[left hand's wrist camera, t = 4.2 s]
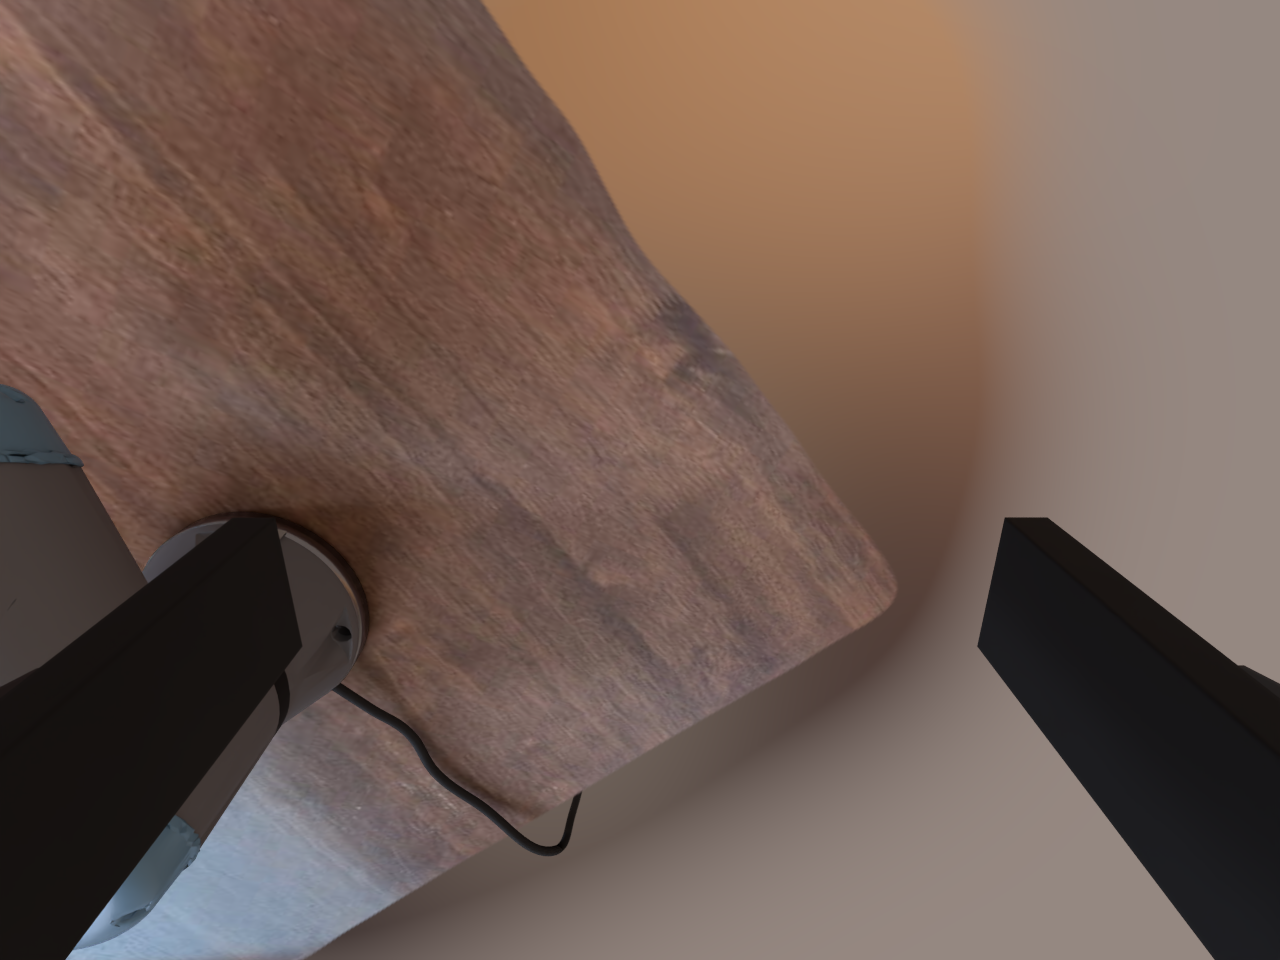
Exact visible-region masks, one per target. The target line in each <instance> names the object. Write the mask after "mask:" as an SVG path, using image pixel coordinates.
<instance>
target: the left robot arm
mask: <svg viewBox="0 0 1280 960" xmlns="http://www.w3.org/2000/svg"><path fill="white" fill-rule="evenodd" d="M83 466H84V464H83V462H82V460H81V459H80V458H78V457H77V456H75V455H73V454H71V453H70V451H69V450H68V448H67V447H66V445H65V444H64V442H63V441H62V439H61V438H60V436H59V435H58V433H57V432H56V431H55V429H54V428H53V426H52V425H51V423H50V422H49V420H48V419H47V417H46V416H45V414H44V413H43V411H42V410H41V408H40V407H39V405H38V404H37V403H36V402H35V401H34V400H33V399H32V398H31V397H29V396H28V395H26V394H25V393H23V392H22V391H20V390H18V389H15V388H13V387H10V386H7V385H3V384H0V960H65V959H66V958H67V957H68V955H69V954H70V953H71V951H72V950H77V949H82V948H86V947H90V946H94V945H97V944H100V943H103V942H105V941H108V940H110V939H113V938H115V937H117V936H119V935H120V934H122V933H124V932H126V931H127V930H129V929H131V928H132V927H133V926H135V925H136V924H138V923H139V922H140V921H141V920H142V919H143V918H144V917H145V916H147V915H148V914H149V913H150V911H151V910H152V909H153V908H154V907H155V905H156V904H157V903H158V901H159V900H160V899H161V898H162V896H163V895H164V894H165V892H166V891H167V890H168V888H169V887H170V886H171V885H172V883H173V882H174V881H175V880H176V878H177V877H178V876H179V875H180V873H181V872H182V871H183V870H184V869H186V868H187V867H188V866H189V865H190V864H191V863H192V862H193V861H194V860H195V859H196V857H197V854H198V852H200V848H201V846H202V845H203V843H204V842H205V840H206V839H207V837H208V836H209V834H210V833H211V831H212V829H213V828H214V826H215V825H216V823H217V822H218V820H219V819H220V817H221V816H222V814H223V813H224V811H225V810H226V808H227V807H228V805H229V804H230V802H231V801H232V799H233V798H234V796H235V795H236V793H237V792H238V790H239V789H240V787H241V786H242V784H243V783H244V781H245V779H246V778H247V776H248V775H249V773H250V772H251V770H252V769H253V767H254V766H255V764H256V763H257V761H258V760H259V758H260V757H261V755H262V754H263V752H264V751H265V749H266V748H267V746H268V745H269V743H270V742H271V740H272V738H273V737H274V735H275V734H276V733H277V731H278V730H279V728H280V727H281V725H282V724H284V723H285V722H287V721H288V720H290V719H291V718H292V717H294V716H295V715H297V714H298V713H300V712H301V711H303V710H304V709H305V708H307V707H308V706H310V705H311V704H313V703H314V702H315V701H317V700H318V699H320V698H321V697H323V696H324V695H326V694H327V693H328V692H330V691H331V690H333V691H334V692H336V693H337V694H339V695H340V696H342V697H344V698H345V699H347V700H348V701H350V702H351V703H353V704H354V705H356V706H357V707H359V708H361V709H362V710H364V711H365V712H367V713H368V714H370V715H372V716H374V717H375V718H377V719H379V720H381V721H383V722H385V723H387V724H388V725H390V726H392V727H394V728H395V729H397V730H398V731H399V732H400V733H402V734H403V735H404V736H405V737H406V738H407V739H408V740H409V741H410V743H411V744H412V746H413V747H414V749H415V750H416V752H417V754H418V756H419V758H420V760H421V761H422V763H423V765H424V766H425V768H426V769H427V771H428V772H429V773H430V774H431V775H432V776H433V778H434V779H436V780H437V781H438V782H439V783H440V784H441V785H442V786H443V787H445V788H446V789H447V790H449V791H450V792H452V793H453V794H455V795H456V796H458V797H459V798H461V799H462V800H464V801H466V802H467V803H469V804H470V805H472V806H473V807H475V808H476V809H478V810H479V811H480V812H482V813H483V814H484V815H486V816H487V817H488V818H489V819H490V820H492V821H493V822H494V823H495V824H496V825H497V826H498V827H499V828H501V829H502V830H503V831H504V832H505V833H506V834H507V835H508V836H509V837H511V838H512V839H513V840H514V841H515V842H517V843H518V844H519V845H520V846H522V847H523V848H525V849H527V850H528V851H530V852H532V853H535V854H538V855H542V856H554V855H557V854H559V853H561V852H562V851H563V850H564V849H565V848H566V847H567V845H568V843H569V840H570V837H571V833H572V829H573V824H574V820H575V816H576V813H577V809H578V806H579V802H580V798H581V794H582V791H581V792H579V793H577V794H576V795H574V797H573V800H572V803H571V807H570V810H569V813H568V817H567V821H566V825H565V829H564V833H563V836H562V839H561V841H560V842H559V843H558V844H557V845H555V846H552V847H545V846H540V845H538V844H535V843H534V842H532V841H530V840H529V839H527V838H526V837H524V836H523V835H522V834H521V833H519V832H518V831H517V830H516V829H515V828H514V827H513V826H511V825H510V824H509V823H508V822H507V821H506V820H505V819H504V818H503V817H502V816H500V815H499V814H498V813H497V812H496V811H495V810H493V809H492V808H491V807H490V806H489V805H487V804H486V803H484V802H483V801H482V800H480V799H479V798H477V797H476V796H474V795H473V794H471V793H469V792H468V791H466V790H465V789H463V788H462V787H460V786H459V785H457V784H456V783H454V782H453V781H452V780H450V779H449V778H448V777H447V776H446V775H445V774H444V773H443V772H441V770H440V769H439V768H438V767H437V766H436V765H435V763H434V762H433V760H432V759H431V757H430V755H429V753H428V751H427V750H426V748H425V746H424V744H423V742H422V741H421V739H420V738H419V736H418V735H417V734H416V733H415V732H414V731H413V730H412V729H411V728H410V727H409V726H408V725H407V724H405V723H404V722H403V721H401V720H400V719H398V718H396V717H395V716H393V715H391V714H389V713H387V712H385V711H384V710H382V709H380V708H378V707H377V706H375V705H373V704H372V703H370V702H369V701H367V700H366V699H364V698H363V697H361V696H359V695H358V694H356V693H355V692H353V691H352V690H350V689H349V688H347V687H346V686H344V685H343V684H341V682H342V680H343V679H344V678H345V677H346V676H347V674H348V673H349V671H350V670H351V668H352V667H353V665H354V663H355V662H356V660H357V659H358V657H359V655H360V653H361V651H362V650H363V647H364V645H365V642H366V639H367V635H368V628H369V612H368V605H367V601H366V597H365V594H364V591H363V589H362V586H361V584H360V582H359V580H358V578H357V577H356V575H355V573H354V572H353V570H352V569H351V567H350V566H349V565H348V563H347V562H346V561H345V560H344V559H343V557H342V556H341V555H340V554H339V553H338V552H337V551H336V550H335V549H334V548H333V547H331V546H330V545H329V544H328V543H327V542H325V541H324V540H323V539H321V538H320V537H318V536H317V535H316V534H314V533H312V532H311V531H309V530H307V529H305V528H303V527H301V526H299V525H297V524H295V523H293V522H290V521H287V520H285V519H282V518H278V517H275V516H271V515H266V514H261V513H253V512H228V513H222V514H216V515H212V516H208V517H206V518H203V519H200V520H198V521H196V522H194V523H192V524H190V525H189V526H187V527H186V528H184V529H182V530H181V531H180V532H178V533H177V534H176V535H174V536H173V537H171V538H170V539H169V540H167V541H166V542H165V543H164V544H162V545H161V546H160V547H159V548H158V549H157V550H156V551H155V552H154V554H153V555H152V556H151V558H150V559H149V561H148V563H147V565H146V566H145V568H144V570H143V572H141V570H140V568H139V567H138V565H137V563H136V561H135V560H134V558H133V556H132V555H131V553H130V551H129V549H128V548H127V546H126V544H125V542H124V541H123V539H122V537H121V536H120V534H119V532H118V530H117V529H116V527H115V525H114V523H113V522H112V520H111V518H110V517H109V515H108V513H107V511H106V510H105V508H104V506H103V504H102V503H101V501H100V499H99V498H98V496H97V494H96V492H95V491H94V489H93V487H92V485H91V484H90V482H89V480H88V479H87V477H86V475H85V473H84V472H83V470H82V468H81V467H83ZM978 648H979V649H980V650H981V652H982V653H983V654H984V656H985V657H986V658H987V660H988V661H989V662H990V664H991V665H992V666H993V668H994V669H995V670H996V672H997V673H998V674H999V676H1000V677H1001V678H1002V680H1003V681H1004V682H1005V683H1006V685H1007V686H1008V687H1009V689H1010V690H1011V691H1012V693H1013V694H1014V695H1015V697H1016V698H1017V699H1018V701H1019V702H1020V703H1021V705H1022V706H1023V707H1024V708H1025V710H1026V711H1027V713H1028V714H1029V715H1030V716H1031V718H1032V719H1033V720H1034V722H1035V723H1036V724H1037V726H1038V727H1039V728H1040V730H1041V731H1042V732H1043V734H1044V735H1045V736H1046V738H1047V739H1048V740H1049V742H1050V743H1051V744H1052V745H1053V747H1054V748H1055V749H1056V751H1057V752H1058V753H1059V755H1060V756H1061V757H1062V759H1063V760H1064V761H1065V763H1066V764H1067V765H1068V767H1069V768H1070V769H1071V771H1072V772H1073V773H1074V775H1075V776H1076V777H1077V779H1078V780H1079V781H1080V782H1081V784H1082V785H1083V786H1084V788H1085V789H1086V790H1087V792H1088V793H1089V794H1090V796H1091V797H1092V798H1093V800H1094V801H1095V802H1096V804H1097V805H1098V806H1099V808H1100V809H1101V810H1102V812H1103V813H1104V814H1105V816H1106V817H1107V818H1108V819H1109V821H1110V822H1111V823H1112V825H1113V826H1114V827H1115V829H1116V830H1117V831H1118V833H1119V834H1120V835H1121V837H1122V838H1123V839H1124V841H1125V842H1126V843H1127V845H1128V846H1129V847H1130V849H1131V850H1132V851H1133V852H1134V854H1135V855H1136V856H1137V858H1138V859H1139V860H1140V862H1141V863H1142V864H1143V866H1144V867H1145V868H1146V870H1147V871H1148V872H1149V874H1150V875H1151V876H1152V878H1153V879H1154V880H1155V881H1156V883H1157V884H1158V885H1159V887H1160V888H1161V889H1162V891H1163V892H1164V893H1165V895H1166V896H1167V897H1168V899H1169V900H1170V901H1171V903H1172V904H1173V905H1174V907H1175V908H1176V909H1177V911H1178V912H1179V913H1180V914H1181V916H1182V917H1183V918H1184V920H1185V921H1186V922H1187V924H1188V925H1189V926H1190V928H1191V929H1192V930H1193V932H1194V933H1195V934H1196V936H1197V937H1198V938H1199V940H1200V941H1201V942H1202V943H1203V945H1204V946H1205V948H1206V949H1207V950H1208V952H1209V953H1210V954H1211V955H1212V957H1213V958H1214V959H1215V960H1280V684H1279V683H1277V682H1275V681H1273V680H1271V679H1269V678H1267V677H1265V676H1263V675H1262V674H1259V673H1258V672H1256V671H1254V670H1252V669H1250V668H1248V667H1246V666H1238V665H1236V664H1235V663H1234V662H1232V661H1231V660H1230V659H1229V658H1227V657H1226V656H1225V655H1224V654H1222V653H1221V652H1220V651H1218V650H1217V649H1216V648H1215V647H1213V646H1212V645H1211V644H1209V643H1208V642H1207V641H1206V640H1204V639H1203V638H1202V637H1200V636H1199V635H1198V634H1197V633H1195V632H1194V631H1193V630H1191V629H1190V628H1189V627H1188V626H1186V625H1185V624H1184V623H1182V622H1181V621H1180V620H1179V619H1177V618H1176V617H1175V616H1173V615H1172V614H1171V613H1170V612H1168V611H1167V610H1166V609H1164V608H1163V607H1162V606H1160V605H1159V604H1158V603H1157V602H1155V601H1154V600H1153V599H1152V598H1150V597H1149V596H1148V595H1146V594H1145V593H1144V592H1143V591H1141V590H1140V589H1139V588H1137V587H1136V586H1135V585H1134V584H1132V583H1131V582H1130V581H1128V580H1127V579H1126V578H1124V577H1123V576H1122V575H1121V574H1119V573H1118V572H1117V571H1116V570H1114V569H1113V568H1112V567H1110V566H1109V565H1108V564H1107V563H1105V562H1104V561H1103V560H1101V559H1100V558H1099V557H1097V556H1096V555H1095V554H1094V553H1092V552H1091V551H1090V550H1089V549H1087V548H1086V547H1085V546H1083V545H1082V544H1081V543H1079V542H1078V541H1077V540H1076V539H1074V538H1073V537H1072V536H1071V535H1069V534H1068V533H1067V532H1065V531H1064V530H1063V529H1061V528H1060V527H1059V526H1058V525H1056V524H1055V523H1054V522H1052V521H1051V520H1050V519H1049V518H1005V519H1004V524H1003V529H1002V533H1001V538H1000V543H999V547H998V552H997V557H996V561H995V566H994V571H993V575H992V580H991V585H990V590H989V594H988V599H987V604H986V608H985V613H984V618H983V622H982V627H981V632H980V637H979V641H978Z"/></svg>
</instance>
